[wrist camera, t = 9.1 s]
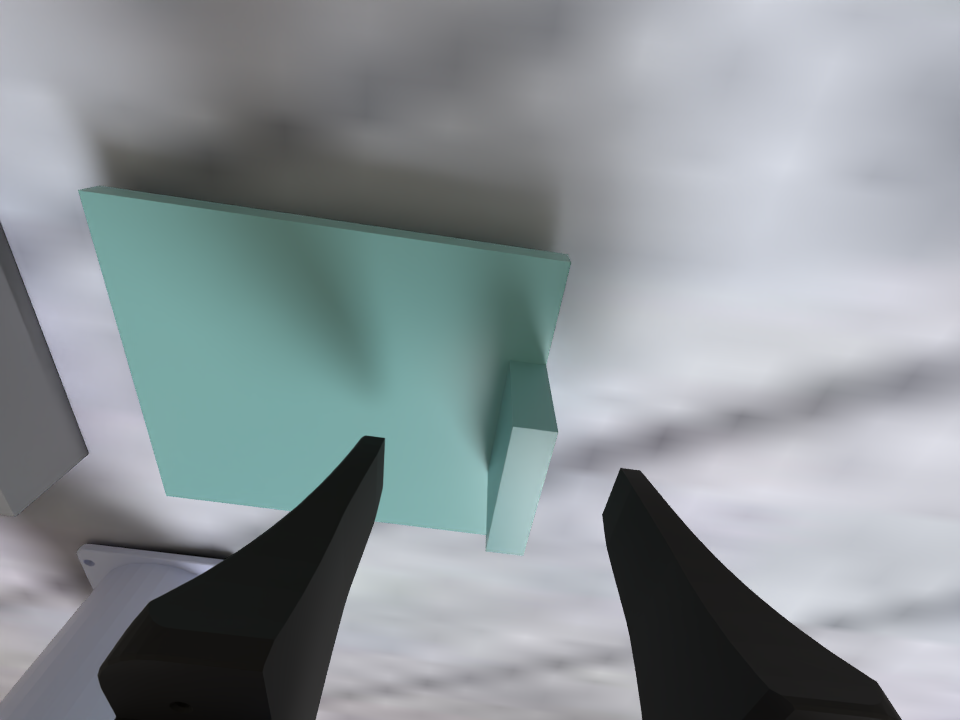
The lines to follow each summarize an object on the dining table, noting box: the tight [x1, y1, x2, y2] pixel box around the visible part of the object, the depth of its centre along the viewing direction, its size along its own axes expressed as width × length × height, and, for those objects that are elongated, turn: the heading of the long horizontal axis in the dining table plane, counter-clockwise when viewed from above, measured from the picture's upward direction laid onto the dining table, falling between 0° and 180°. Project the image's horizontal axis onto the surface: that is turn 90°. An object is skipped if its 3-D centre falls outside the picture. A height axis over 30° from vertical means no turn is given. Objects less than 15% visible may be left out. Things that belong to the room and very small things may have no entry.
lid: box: [78, 186, 571, 556], centre depth 15 cm, size 12×14×5 cm
